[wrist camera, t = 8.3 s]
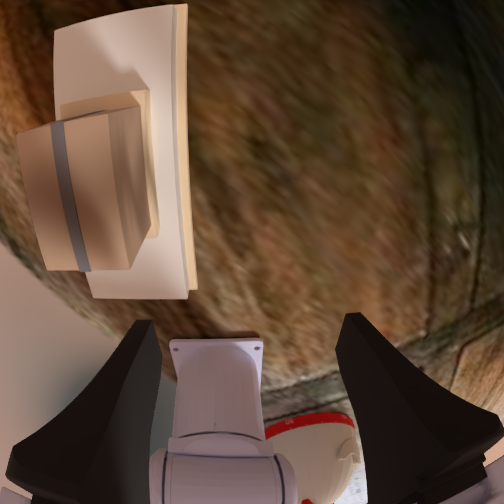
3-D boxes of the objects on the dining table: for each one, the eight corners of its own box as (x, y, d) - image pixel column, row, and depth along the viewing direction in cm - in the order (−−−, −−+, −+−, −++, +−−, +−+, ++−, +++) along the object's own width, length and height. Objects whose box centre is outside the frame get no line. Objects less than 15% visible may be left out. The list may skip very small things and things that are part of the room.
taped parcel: (160, 228, 17) (137, 286, 13) (88, 231, 17) (48, 284, 12) (150, 89, 13) (111, 91, 9) (70, 102, 13) (10, 116, 8)
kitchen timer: (293, 459, 42) (306, 536, 29) (235, 440, 36) (242, 538, 23) (367, 425, 38) (393, 510, 25) (321, 401, 32) (349, 515, 19)
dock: (188, 6, 13) (182, -5, 11) (197, 284, 22) (195, 304, 20) (65, 29, 12) (48, 25, 10) (98, 285, 22) (89, 303, 20)
